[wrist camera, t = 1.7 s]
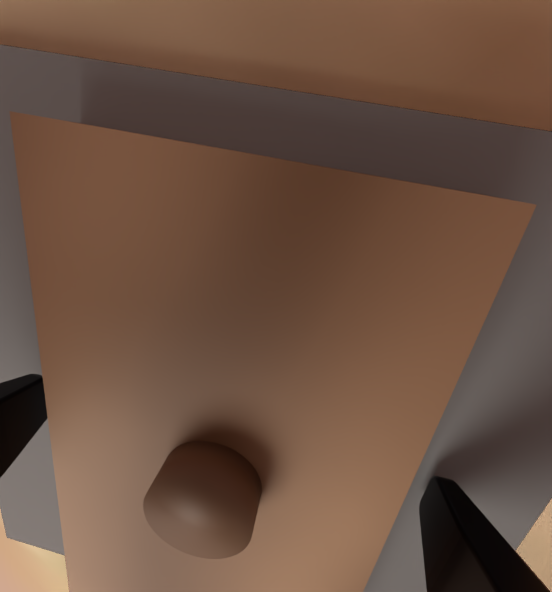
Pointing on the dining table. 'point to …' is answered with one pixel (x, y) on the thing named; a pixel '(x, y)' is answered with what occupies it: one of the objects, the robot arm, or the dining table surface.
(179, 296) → the lid
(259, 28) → the dining table surface
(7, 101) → the mat
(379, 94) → the dining table surface
